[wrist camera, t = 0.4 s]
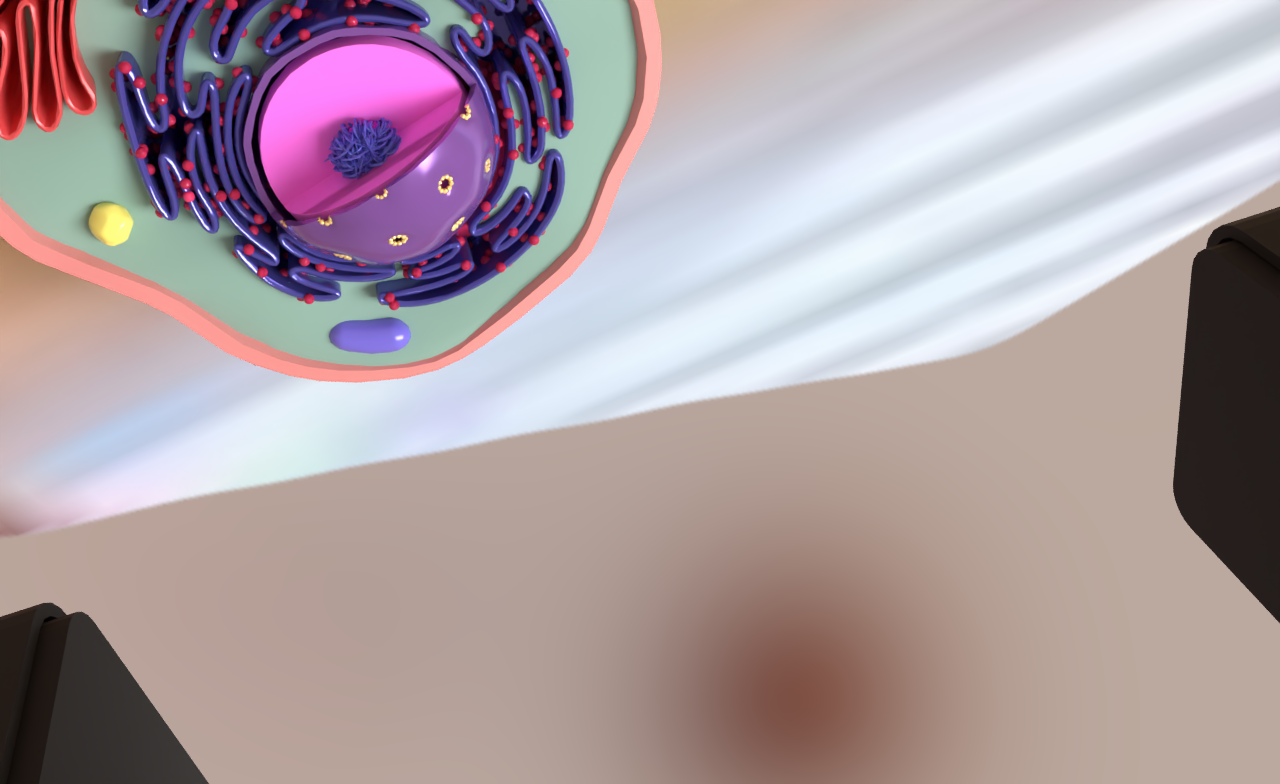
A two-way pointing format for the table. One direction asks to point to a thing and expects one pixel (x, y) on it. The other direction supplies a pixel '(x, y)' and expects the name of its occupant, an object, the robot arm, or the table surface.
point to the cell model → (323, 163)
